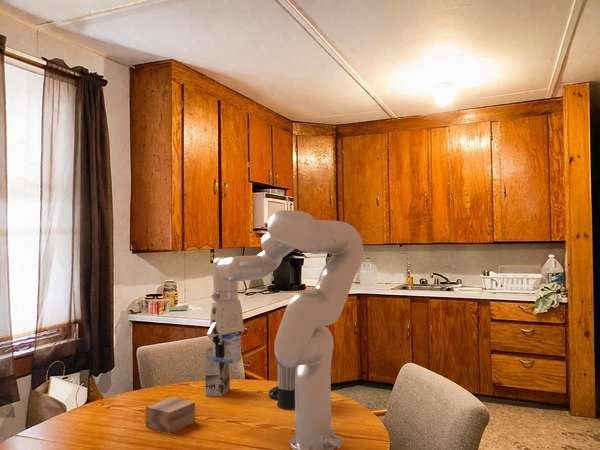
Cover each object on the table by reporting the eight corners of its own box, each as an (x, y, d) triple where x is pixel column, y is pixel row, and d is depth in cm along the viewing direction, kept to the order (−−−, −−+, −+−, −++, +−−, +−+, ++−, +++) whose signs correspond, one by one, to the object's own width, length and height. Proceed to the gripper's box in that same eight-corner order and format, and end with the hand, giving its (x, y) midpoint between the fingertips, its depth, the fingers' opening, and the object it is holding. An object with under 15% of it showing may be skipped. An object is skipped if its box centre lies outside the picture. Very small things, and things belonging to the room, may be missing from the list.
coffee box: (221, 396, 166) (221, 350, 166) (204, 395, 167) (204, 350, 168) (230, 389, 174) (230, 345, 175) (214, 388, 176) (214, 344, 176)
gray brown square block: (194, 422, 142) (194, 402, 142) (169, 434, 134) (169, 412, 134) (171, 416, 147) (171, 397, 148) (145, 427, 139) (145, 406, 139)
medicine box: (212, 361, 146) (211, 333, 147) (221, 358, 150) (220, 331, 151) (233, 364, 142) (232, 335, 143) (241, 360, 146) (241, 332, 147)
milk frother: (296, 411, 150) (296, 364, 150) (254, 405, 157) (254, 360, 157) (315, 398, 162) (314, 355, 163) (275, 392, 169) (274, 351, 170)
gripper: (212, 299, 138) (213, 362, 137) (253, 294, 152) (254, 351, 151) (196, 298, 143) (197, 359, 142) (237, 293, 156) (238, 349, 155)
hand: (226, 354), depth 146 cm, fingers closed on medicine box, 5 cm apart
